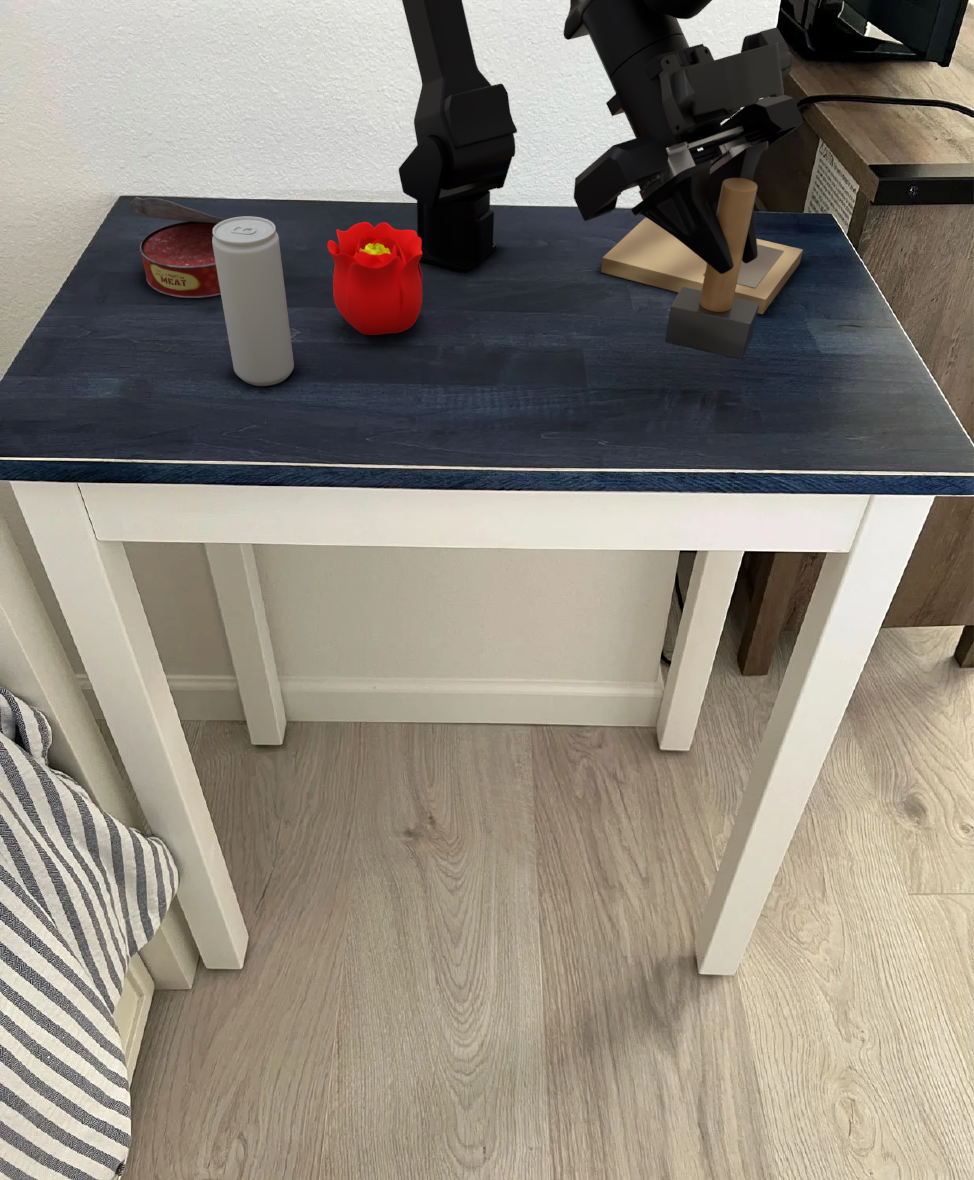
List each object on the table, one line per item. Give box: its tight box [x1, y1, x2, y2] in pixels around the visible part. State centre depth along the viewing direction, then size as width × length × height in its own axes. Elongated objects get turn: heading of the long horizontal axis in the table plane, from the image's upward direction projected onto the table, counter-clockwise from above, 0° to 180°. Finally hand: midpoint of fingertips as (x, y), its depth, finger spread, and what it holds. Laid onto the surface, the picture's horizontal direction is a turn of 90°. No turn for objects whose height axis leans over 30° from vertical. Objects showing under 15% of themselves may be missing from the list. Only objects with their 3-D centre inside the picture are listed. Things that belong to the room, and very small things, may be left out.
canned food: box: [129, 196, 226, 299], centre depth 92 cm, size 11×10×10 cm
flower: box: [327, 221, 423, 336], centre depth 85 cm, size 8×8×8 cm
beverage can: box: [212, 215, 295, 387], centre depth 78 cm, size 5×5×12 cm
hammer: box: [664, 178, 760, 360], centre depth 74 cm, size 6×4×12 cm, turn 68°
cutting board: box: [600, 217, 804, 315], centre depth 97 cm, size 16×12×2 cm
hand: (739, 266), depth 72 cm, fingers closed on hammer, 2 cm apart
